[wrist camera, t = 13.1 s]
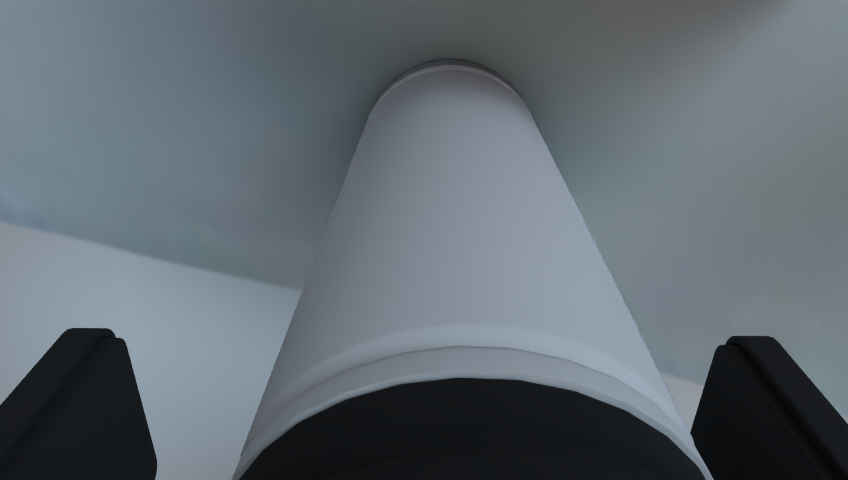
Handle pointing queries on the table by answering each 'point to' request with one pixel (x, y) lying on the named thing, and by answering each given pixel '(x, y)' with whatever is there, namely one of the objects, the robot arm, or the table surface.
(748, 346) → the robot arm
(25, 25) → the table surface
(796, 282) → the table surface
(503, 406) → the travel mug
